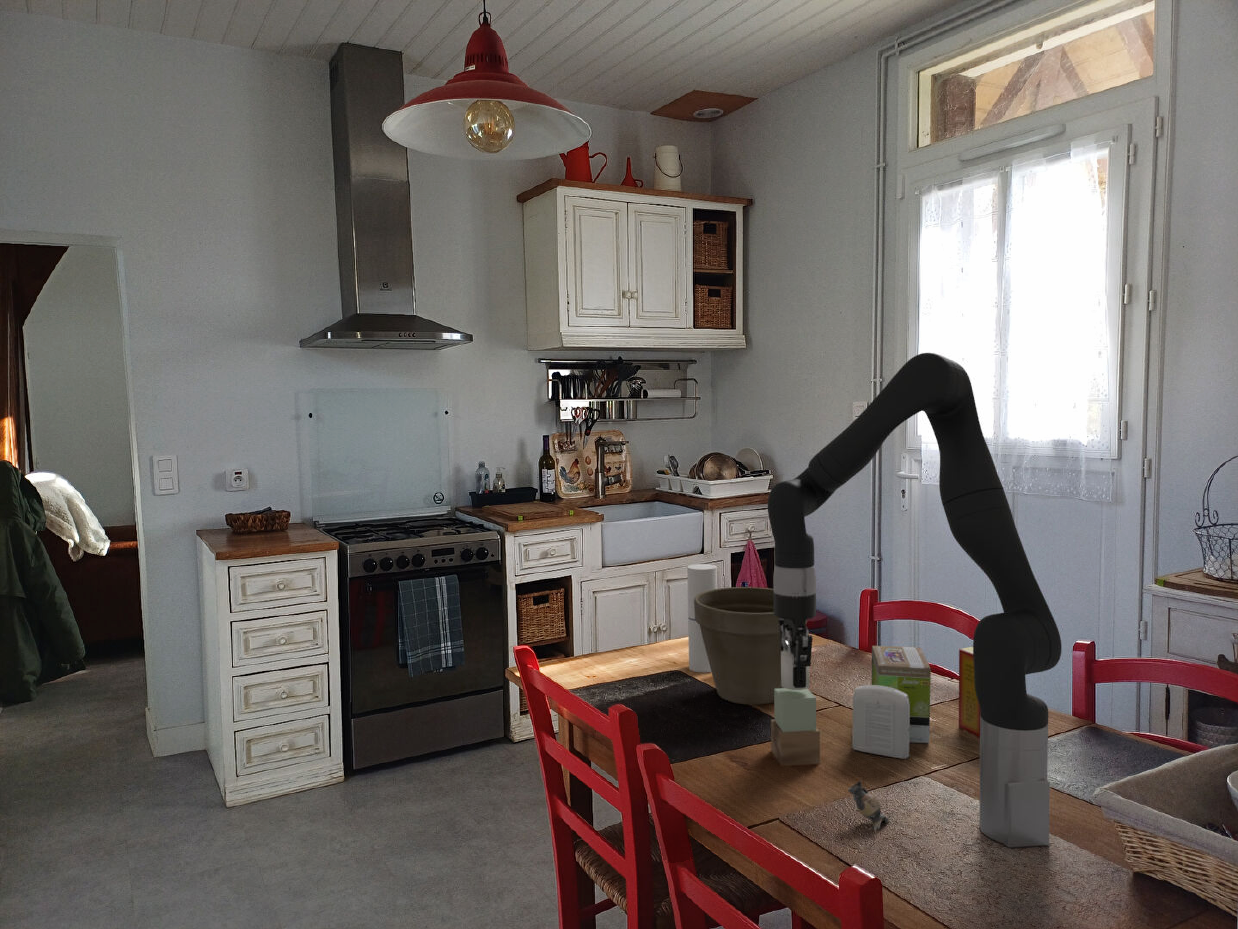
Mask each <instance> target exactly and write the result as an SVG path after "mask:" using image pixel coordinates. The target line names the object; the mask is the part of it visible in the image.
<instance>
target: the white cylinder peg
mask: <svg viewBox="0 0 1238 929" xmlns="http://www.w3.org/2000/svg"><path fill="white" fill-rule="evenodd" d="M800 660H803V656H800ZM781 686H782V687H783V688H786V689H790V690H803V689H808V688H810V666H807V667H806V687H804V688H795V687H794V686H793V665H792V655H791V654H789V651H788V650H784V651H782V652H781Z"/></svg>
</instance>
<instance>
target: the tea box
mask: <svg viewBox="0 0 1238 929" xmlns="http://www.w3.org/2000/svg"><path fill="white" fill-rule="evenodd" d="M931 672H932V669H931V667H930V664H929V662H928V660H927V658H926V656H925V654H924V651H923V650H922V648H921V647H912V646H911V647H910V646H909V647H908V646H891V645H888V646H887V645H872V646H871V684H870V685H879V686H886V687H890V688H894V689H896V690H899V691H901V692H904V693H905V694H907V695H908V699H909V704H910V728H909V743H914V744H915V743H919V744H929V742H930V733H931V732H930V731H931V730H930V726H931V724H930V722H931V721H930V719H931V680H932V679H931V678H932V675H931Z"/></svg>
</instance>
